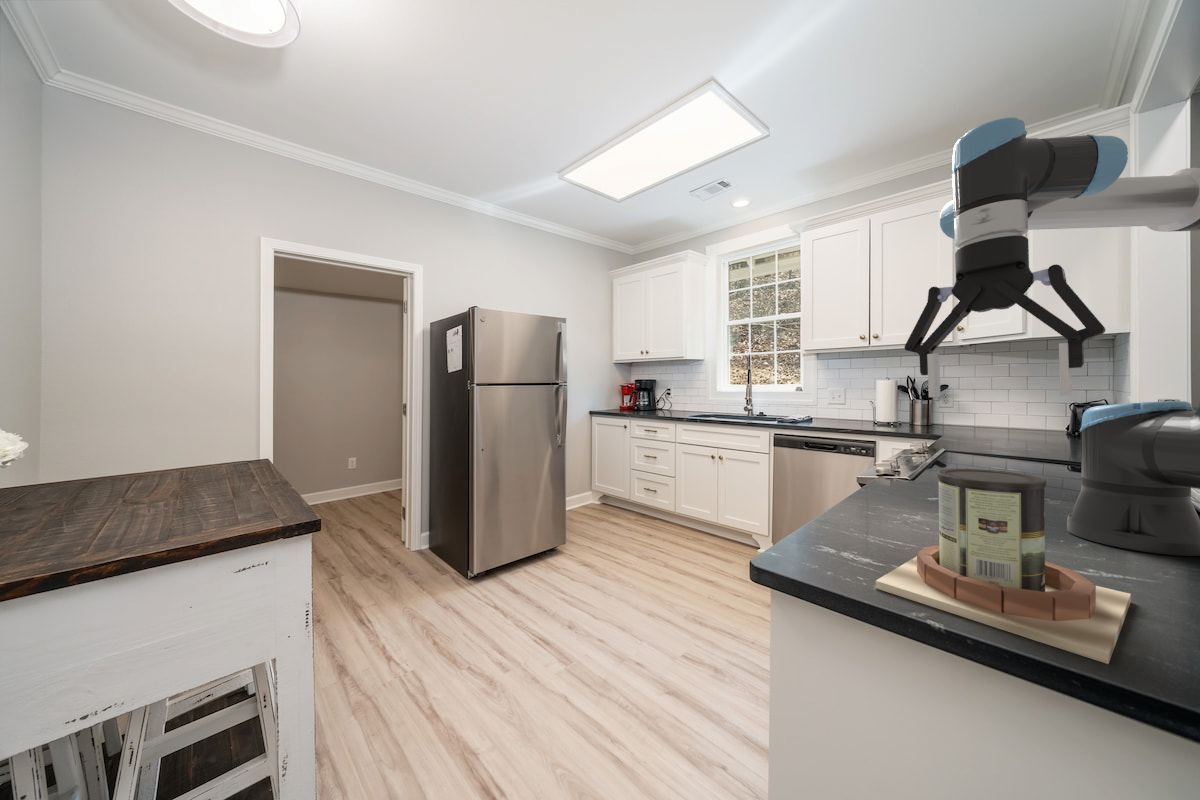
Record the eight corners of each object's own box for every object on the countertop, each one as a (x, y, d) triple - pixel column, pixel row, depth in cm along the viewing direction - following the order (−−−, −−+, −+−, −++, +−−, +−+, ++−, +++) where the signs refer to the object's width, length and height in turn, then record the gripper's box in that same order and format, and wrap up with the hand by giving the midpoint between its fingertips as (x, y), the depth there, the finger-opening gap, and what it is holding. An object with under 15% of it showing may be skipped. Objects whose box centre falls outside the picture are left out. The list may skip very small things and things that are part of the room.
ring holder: (931, 553, 69) (931, 531, 69) (1130, 602, 52) (1130, 573, 52) (875, 588, 57) (875, 561, 57) (1108, 664, 41) (1108, 627, 41)
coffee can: (1006, 570, 59) (1006, 468, 59) (1071, 607, 49) (1071, 484, 49) (922, 565, 62) (921, 467, 61) (967, 600, 51) (966, 482, 51)
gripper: (878, 262, 67) (882, 398, 68) (1131, 202, 48) (1136, 394, 48) (896, 269, 72) (900, 396, 72) (1134, 216, 52) (1138, 392, 52)
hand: (994, 396), depth 60 cm, fingers open, 13 cm apart
